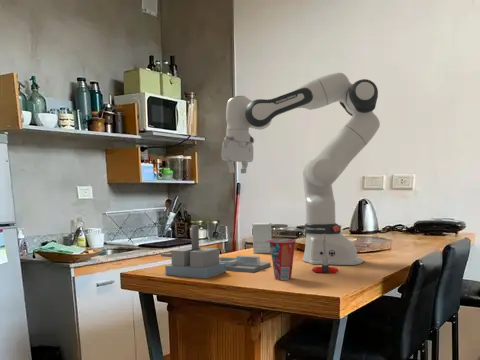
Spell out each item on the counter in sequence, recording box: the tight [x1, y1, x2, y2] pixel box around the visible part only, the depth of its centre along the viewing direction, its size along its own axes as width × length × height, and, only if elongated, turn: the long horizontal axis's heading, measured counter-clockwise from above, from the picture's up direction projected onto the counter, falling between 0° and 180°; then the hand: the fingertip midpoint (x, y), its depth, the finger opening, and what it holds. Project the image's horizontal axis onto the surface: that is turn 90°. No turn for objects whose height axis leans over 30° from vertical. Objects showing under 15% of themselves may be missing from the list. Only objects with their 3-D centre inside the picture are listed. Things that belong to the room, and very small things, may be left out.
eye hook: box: [219, 255, 261, 267], centre depth 169 cm, size 18×10×3 cm, turn 62°
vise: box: [160, 224, 226, 279], centre depth 160 cm, size 22×12×16 cm, turn 62°
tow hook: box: [311, 234, 339, 274], centre depth 160 cm, size 8×13×9 cm
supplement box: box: [251, 222, 273, 254], centre depth 207 cm, size 7×7×13 cm
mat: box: [225, 261, 272, 273], centre depth 170 cm, size 22×14×1 cm, turn 62°
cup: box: [265, 238, 297, 281], centre depth 147 cm, size 9×8×12 cm
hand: (238, 173), depth 186 cm, fingers open, 8 cm apart
